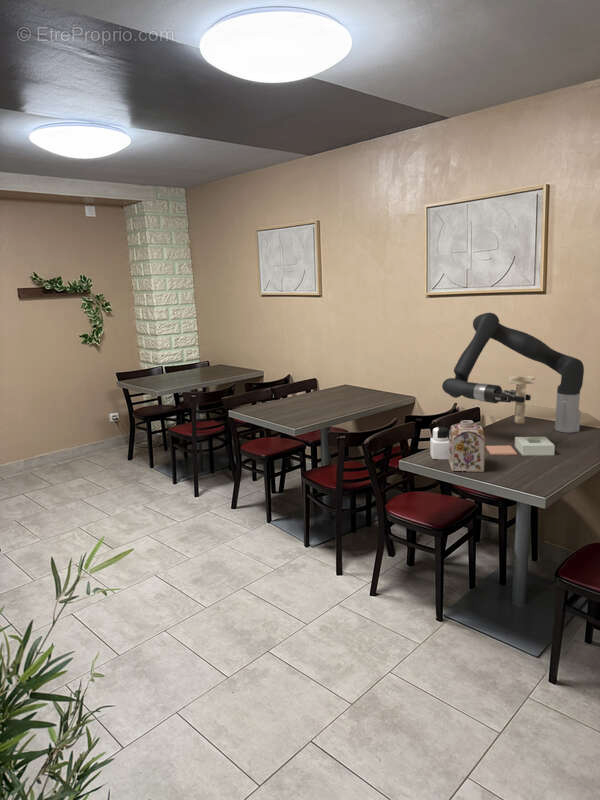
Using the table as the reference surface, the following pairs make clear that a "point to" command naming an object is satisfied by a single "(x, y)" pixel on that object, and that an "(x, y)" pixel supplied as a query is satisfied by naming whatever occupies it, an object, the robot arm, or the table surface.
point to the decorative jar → (466, 447)
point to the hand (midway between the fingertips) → (527, 398)
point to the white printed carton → (439, 443)
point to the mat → (501, 450)
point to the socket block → (534, 446)
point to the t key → (520, 392)
